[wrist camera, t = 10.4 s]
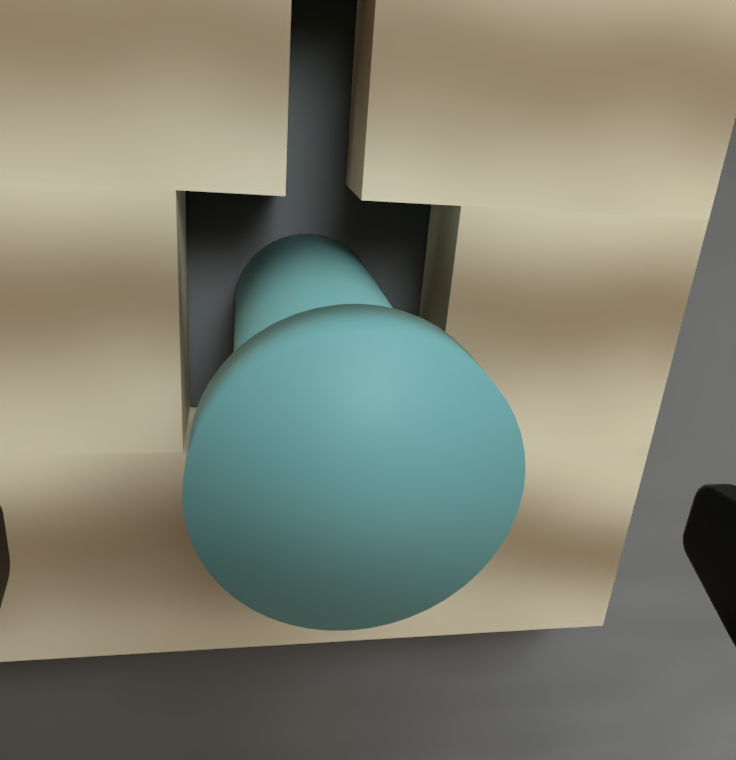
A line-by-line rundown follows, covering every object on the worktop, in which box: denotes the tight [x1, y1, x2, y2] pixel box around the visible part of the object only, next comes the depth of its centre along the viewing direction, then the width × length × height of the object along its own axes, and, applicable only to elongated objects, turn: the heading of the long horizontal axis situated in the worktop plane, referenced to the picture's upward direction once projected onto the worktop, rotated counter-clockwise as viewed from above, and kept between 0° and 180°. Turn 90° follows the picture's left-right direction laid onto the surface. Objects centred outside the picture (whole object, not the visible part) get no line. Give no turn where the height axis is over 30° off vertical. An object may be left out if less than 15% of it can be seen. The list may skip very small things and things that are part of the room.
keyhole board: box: [0, 0, 736, 662], centre depth 17 cm, size 18×18×2 cm
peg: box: [182, 234, 525, 631], centre depth 14 cm, size 5×5×9 cm
